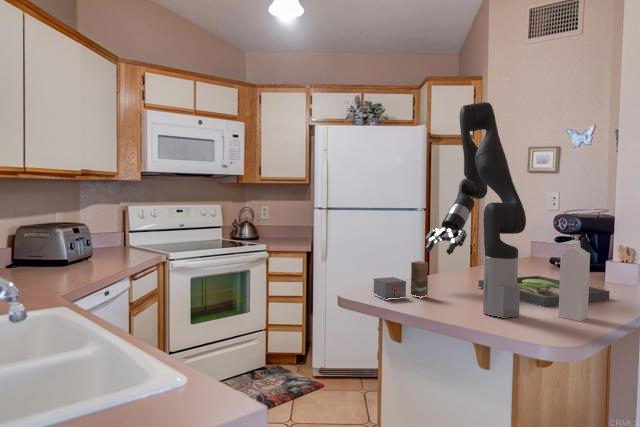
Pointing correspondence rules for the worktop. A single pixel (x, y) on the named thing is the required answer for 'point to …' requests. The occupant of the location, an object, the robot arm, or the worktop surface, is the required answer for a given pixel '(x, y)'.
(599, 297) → the dark gray tray
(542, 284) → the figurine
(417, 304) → the worktop surface
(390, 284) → the block
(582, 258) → the milk
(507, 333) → the worktop surface
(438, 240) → the robot arm
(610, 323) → the worktop surface
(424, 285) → the column
